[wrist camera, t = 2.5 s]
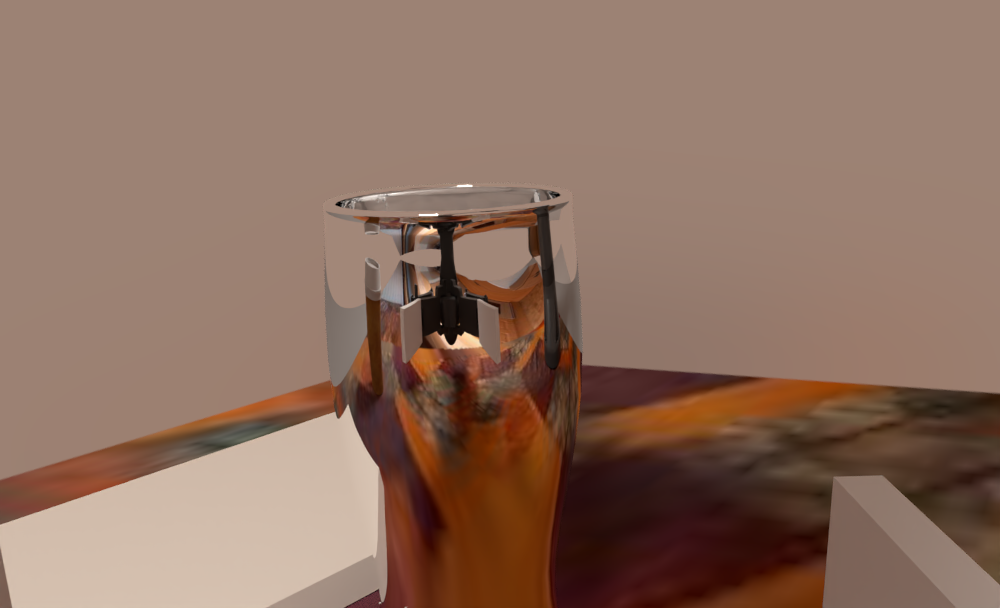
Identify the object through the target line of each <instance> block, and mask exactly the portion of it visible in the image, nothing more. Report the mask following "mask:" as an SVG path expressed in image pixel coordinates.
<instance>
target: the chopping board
mask: <svg viewBox="0 0 1000 608" xmlns="http://www.w3.org/2000/svg"><path fill="white" fill-rule="evenodd" d="M0 548H1V553H2V558H3V563H4V568H5V573H6V578H7V583H8V588H9V594H10V599H11V604H12V608H344V607H346V606H348V605H350V604H352V603H354V602H355V601H357V600H359V599H361V598H363V597H365V596H367V595H369V594H370V593H372V592H374V591H376V590H378V589H379V584H378V577H377V571H376V565H375V561H374V557H373V553H372V549H371V545H370V541H369V537H368V533H367V530H366V527H365V523H364V520H363V516H362V513H361V510H360V506H359V503H358V499H357V496H356V492H355V489H354V485H353V482H352V478H351V474H350V471H349V467H348V464H347V460H346V456H345V453H344V448H343V444H342V439H341V435H340V430H339V426H338V421H337V417H336V412H334V413H331V414H328V415H325V416H322V417H319V418H316V419H313V420H310V421H307V422H304V423H301V424H298V425H295V426H292V427H289V428H286V429H283V430H280V431H277V432H274V433H271V434H268V435H265V436H262V437H259V438H256V439H254V440H251V441H248V442H245V443H242V444H239V445H236V446H233V447H230V448H227V449H224V450H221V451H218V452H215V453H212V454H209V455H206V456H203V457H200V458H197V459H194V460H191V461H188V462H185V463H182V464H179V465H176V466H173V467H171V468H168V469H165V470H162V471H159V472H156V473H153V474H150V475H147V476H144V477H141V478H138V479H135V480H132V481H129V482H126V483H123V484H120V485H117V486H114V487H111V488H108V489H105V490H102V491H99V492H96V493H93V494H90V495H88V496H85V497H82V498H79V499H76V500H73V501H70V502H67V503H64V504H61V505H58V506H55V507H52V508H49V509H46V510H43V511H40V512H37V513H34V514H31V515H28V516H25V517H22V518H19V519H16V520H13V521H10V522H7V523H5V524H2V525H0Z"/></svg>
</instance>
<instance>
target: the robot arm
mask: <svg viewBox="0 0 1000 608" xmlns="http://www.w3.org/2000/svg"><path fill="white" fill-rule="evenodd" d="M0 608H12V604H11V599H10V594H9V588H8V583H7V578H6V573H5V568H4V563H3V558H2V553H1V548H0ZM823 608H1000V585H999V584H998V583H997V582H996V581H995V580H994V579H993V578H992V577H991V576H990V575H989V574H987V573H986V572H985V571H984V570H983V569H982V568H981V567H980V566H979V565H978V564H977V563H976V562H975V561H974V560H972V559H971V558H970V557H969V556H968V555H967V554H966V553H965V552H964V551H963V550H962V549H961V548H960V547H959V546H957V545H956V544H955V543H954V542H953V541H952V540H951V539H950V538H949V537H948V536H947V535H946V534H945V533H944V532H942V531H941V530H940V529H939V528H938V527H937V526H936V525H935V524H934V523H933V522H932V521H931V520H930V519H929V518H927V517H926V516H925V515H924V514H923V513H922V512H921V511H920V510H919V509H918V508H917V507H916V506H915V505H914V504H912V503H911V502H910V501H909V500H908V499H907V498H906V497H905V496H904V495H903V494H902V493H901V492H900V491H899V490H897V489H896V488H895V487H894V486H893V485H892V484H891V483H890V482H889V481H888V480H887V479H886V478H885V477H884V476H882V475H878V476H843V477H834V478H833V490H832V501H831V513H830V525H829V537H828V549H827V561H826V573H825V585H824V597H823Z"/></svg>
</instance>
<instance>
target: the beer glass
mask: <svg viewBox="0 0 1000 608" xmlns="http://www.w3.org/2000/svg"><path fill="white" fill-rule="evenodd" d="M572 200H573V194H572V193H571V191H569V190H567V189H564V188H561V187H555V186H548V185H538V184H524V183H451V184H430V185H415V186H403V187H393V188H383V189H374V190H367V191H360V192H355V193H349V194H344V195H340V196H336V197H333V198H330V199H328V200H326V201H325V202H324V203H323V210H324V226H325V227H324V228H325V317H326V333H327V351H328V363H329V371H330V379H331V386H332V394H333V402H334V408H335V412H336V417H337V421H338V426H339V430H340V435H341V439H342V444H343V448H344V453H345V456H346V460H347V464H348V467H349V471H350V474H351V478H352V482H353V485H354V489H355V492H356V496H357V499H358V503H359V506H360V510H361V513H362V516H363V520H364V523H365V527H366V530H367V533H368V537H369V541H370V545H371V549H372V553H373V557H374V561H375V565H376V571H377V577H378V584H379V593H380V602H379V604H380V608H559V607H558V601H557V588H556V564H557V549H558V543H559V536H560V529H561V522H562V516H563V511H564V505H565V500H566V494H567V489H568V483H569V477H570V471H571V465H572V459H573V453H574V447H575V441H576V435H577V426H578V417H579V409H580V400H581V390H582V348H583V347H582V346H583V345H582V344H583V342H582V319H581V296H580V284H579V273H578V261H577V251H576V243H575V233H574V221H573V206H572Z"/></svg>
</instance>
